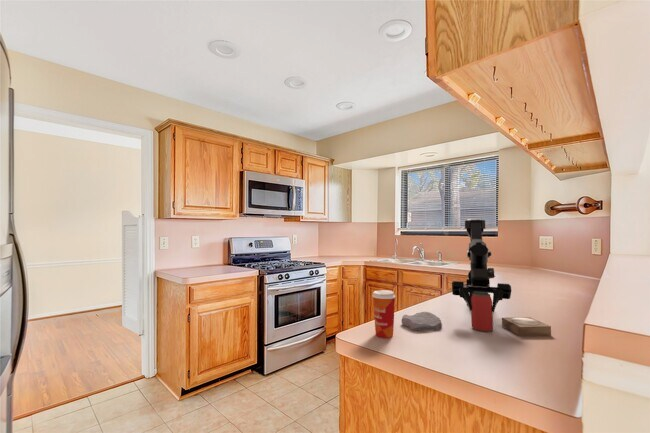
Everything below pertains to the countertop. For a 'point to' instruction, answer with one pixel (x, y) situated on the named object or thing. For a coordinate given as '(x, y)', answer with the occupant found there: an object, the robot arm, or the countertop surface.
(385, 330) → the paper cup
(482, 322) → the beer can
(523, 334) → the walnut pedestal
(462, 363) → the countertop surface
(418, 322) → the stone block
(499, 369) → the countertop surface
